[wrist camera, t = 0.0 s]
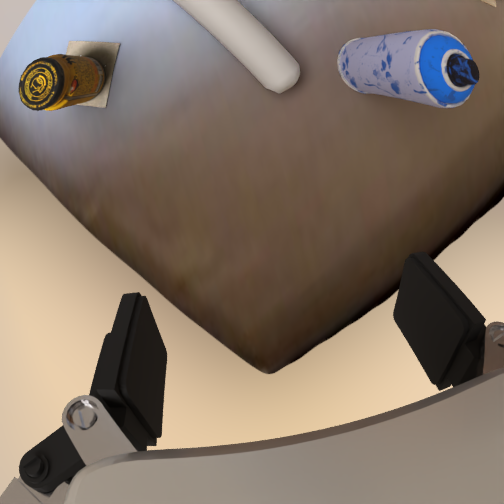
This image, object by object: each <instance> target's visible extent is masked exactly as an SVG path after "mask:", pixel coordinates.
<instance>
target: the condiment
mask: <svg viewBox="0 0 504 504" xmlns="http://www.w3.org/2000/svg"><path fill="white" fill-rule="evenodd" d="M119 44H120V43H109V42H88V41H69V44H68V48H67V52H66V55H63V54H57V55H52V56H49V57H46V58H45V57H43V58H40V59H37V60H34V61H33V62H32V63H30V64H29V65H28V66H27V67H26V69H25V71H24V72H23V74H22V75H21V78H20V83H19V94H20V99H21V101H22V102H23V104H24V105H26V106H27V107H28V108H30V109H32V110H37V111H39V110H43V109H44V110H48V111H52V110H58V109H61V108H64V107H68V106H72V105H85V106H95V107H103V108H106V103H107V98H108V93H109V88H110V83H111V79H112V74H113V68H114V65H115V61H116V57H117V52H118V48H119ZM80 55H82V56H80ZM105 65H106V66H105Z"/></svg>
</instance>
